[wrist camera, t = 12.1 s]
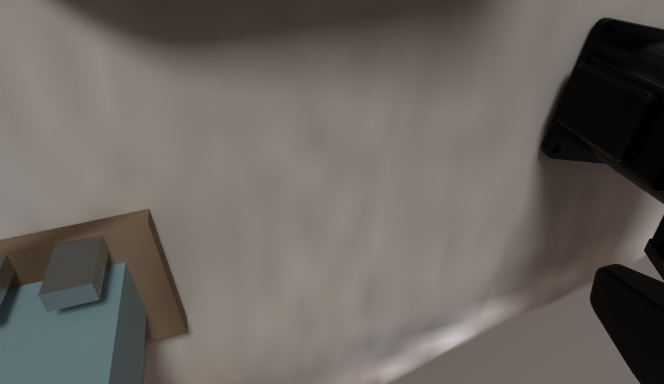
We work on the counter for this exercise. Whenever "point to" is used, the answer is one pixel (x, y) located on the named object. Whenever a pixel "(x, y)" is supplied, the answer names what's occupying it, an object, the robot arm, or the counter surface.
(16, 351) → the door
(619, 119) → the robot arm
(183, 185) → the counter surface
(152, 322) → the brown base with posts
